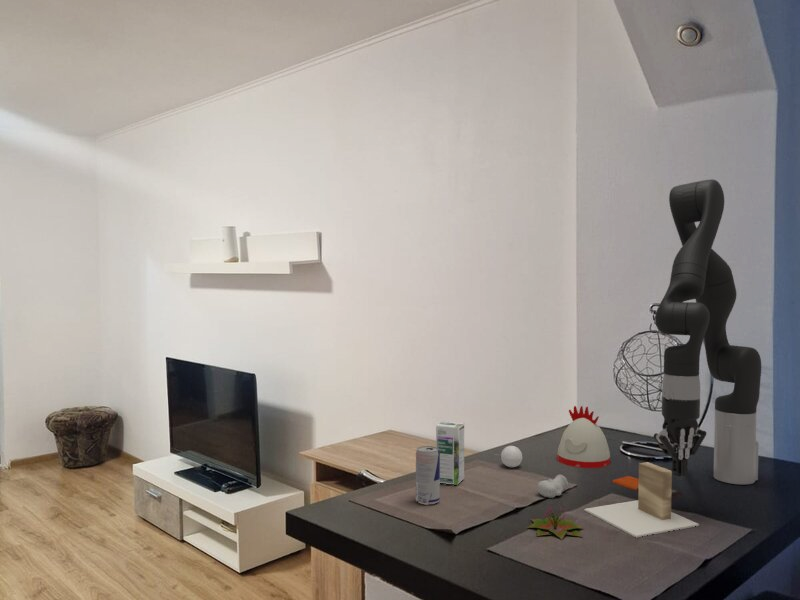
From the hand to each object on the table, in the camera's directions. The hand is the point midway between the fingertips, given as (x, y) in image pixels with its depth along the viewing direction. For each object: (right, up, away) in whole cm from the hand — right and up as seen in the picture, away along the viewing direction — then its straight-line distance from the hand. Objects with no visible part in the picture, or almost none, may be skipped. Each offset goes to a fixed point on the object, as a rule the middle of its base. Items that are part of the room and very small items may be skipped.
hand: (679, 475), depth 145 cm
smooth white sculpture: (-24, -8, +11) cm, 28 cm away
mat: (-10, -8, -4) cm, 13 cm away
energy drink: (-54, -8, +7) cm, 55 cm away
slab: (-6, -8, -2) cm, 10 cm away
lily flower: (-29, -9, -9) cm, 31 cm away
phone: (-2, -8, +16) cm, 18 cm away
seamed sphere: (-31, -7, +34) cm, 47 cm away
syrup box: (-48, -7, +21) cm, 53 cm away
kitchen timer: (-10, -7, +39) cm, 41 cm away
